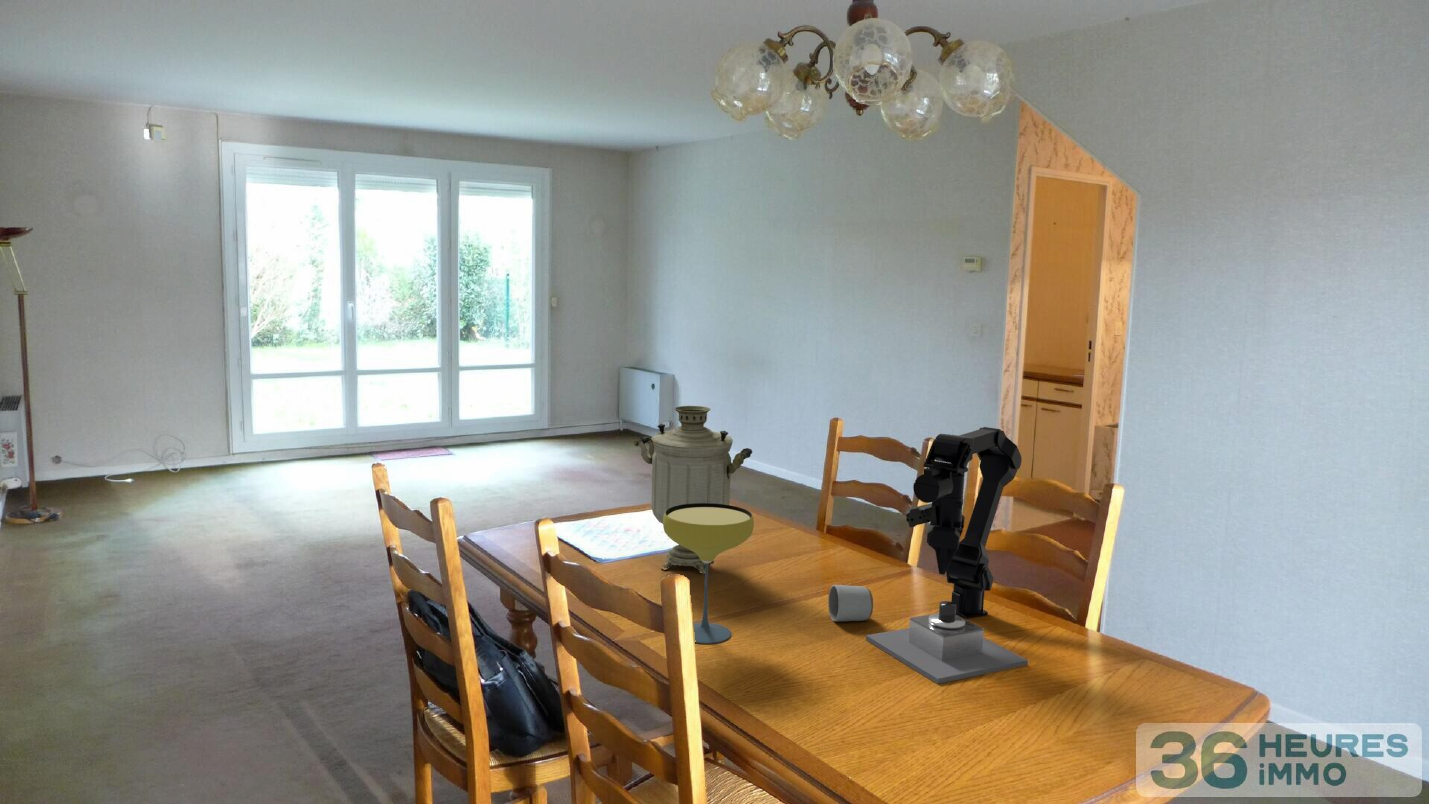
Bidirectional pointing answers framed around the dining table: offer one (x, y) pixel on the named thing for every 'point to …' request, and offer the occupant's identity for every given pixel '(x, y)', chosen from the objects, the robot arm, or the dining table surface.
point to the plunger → (947, 616)
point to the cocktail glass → (708, 545)
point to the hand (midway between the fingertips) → (943, 567)
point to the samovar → (689, 470)
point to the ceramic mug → (850, 603)
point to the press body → (946, 638)
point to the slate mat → (947, 670)
